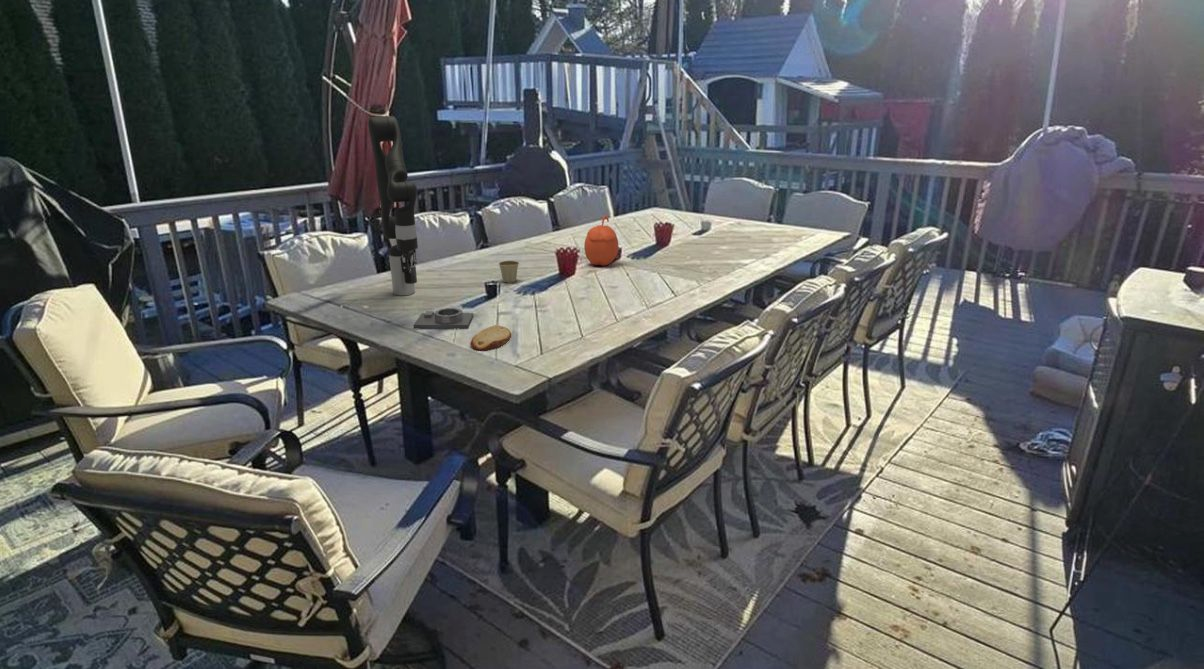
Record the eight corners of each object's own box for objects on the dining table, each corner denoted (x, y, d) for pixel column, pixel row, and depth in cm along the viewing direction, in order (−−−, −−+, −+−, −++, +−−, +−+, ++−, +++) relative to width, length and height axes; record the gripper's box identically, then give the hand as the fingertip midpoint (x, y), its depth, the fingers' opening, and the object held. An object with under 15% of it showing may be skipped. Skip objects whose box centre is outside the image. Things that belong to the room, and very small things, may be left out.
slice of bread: (503, 329, 244) (503, 319, 243) (524, 344, 230) (524, 334, 228) (457, 337, 235) (457, 328, 233) (476, 354, 221) (476, 343, 219)
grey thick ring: (438, 315, 252) (437, 307, 251) (464, 315, 252) (463, 307, 251) (433, 324, 243) (432, 315, 241) (460, 324, 243) (459, 315, 242)
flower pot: (495, 280, 304) (494, 262, 301) (512, 277, 310) (511, 259, 307) (506, 285, 298) (505, 266, 295) (523, 281, 303) (523, 263, 300)
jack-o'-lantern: (606, 258, 346) (607, 211, 337) (625, 265, 333) (626, 217, 324) (577, 263, 336) (577, 215, 327) (596, 270, 323) (596, 220, 314)
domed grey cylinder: (406, 279, 252) (405, 264, 250) (418, 279, 252) (417, 264, 250) (402, 284, 246) (401, 268, 244) (415, 284, 246) (413, 268, 244)
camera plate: (422, 316, 255) (421, 310, 254) (473, 316, 256) (473, 310, 255) (413, 328, 242) (413, 321, 241) (467, 328, 243) (467, 321, 242)
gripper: (401, 232, 249) (405, 274, 255) (391, 240, 236) (395, 285, 242) (420, 232, 250) (424, 274, 256) (412, 240, 236) (416, 285, 242)
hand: (410, 279), depth 249 cm, fingers closed on domed grey cylinder, 6 cm apart
